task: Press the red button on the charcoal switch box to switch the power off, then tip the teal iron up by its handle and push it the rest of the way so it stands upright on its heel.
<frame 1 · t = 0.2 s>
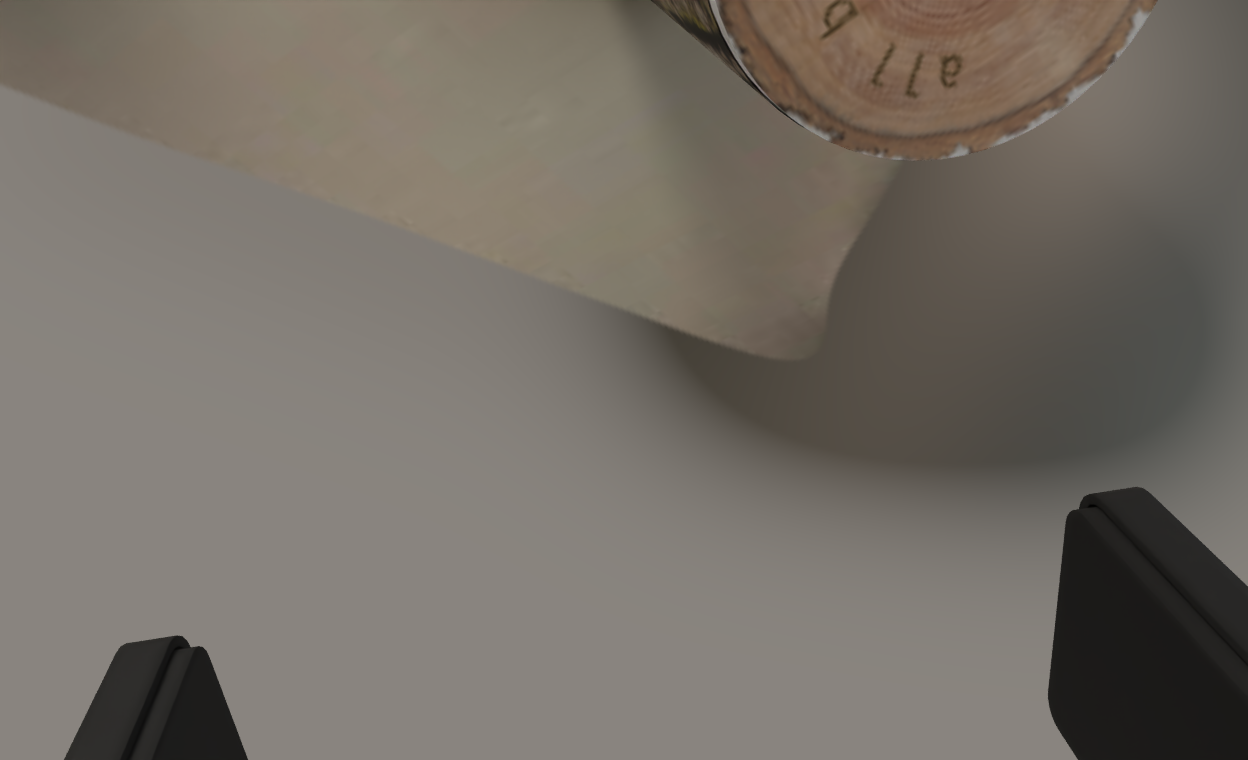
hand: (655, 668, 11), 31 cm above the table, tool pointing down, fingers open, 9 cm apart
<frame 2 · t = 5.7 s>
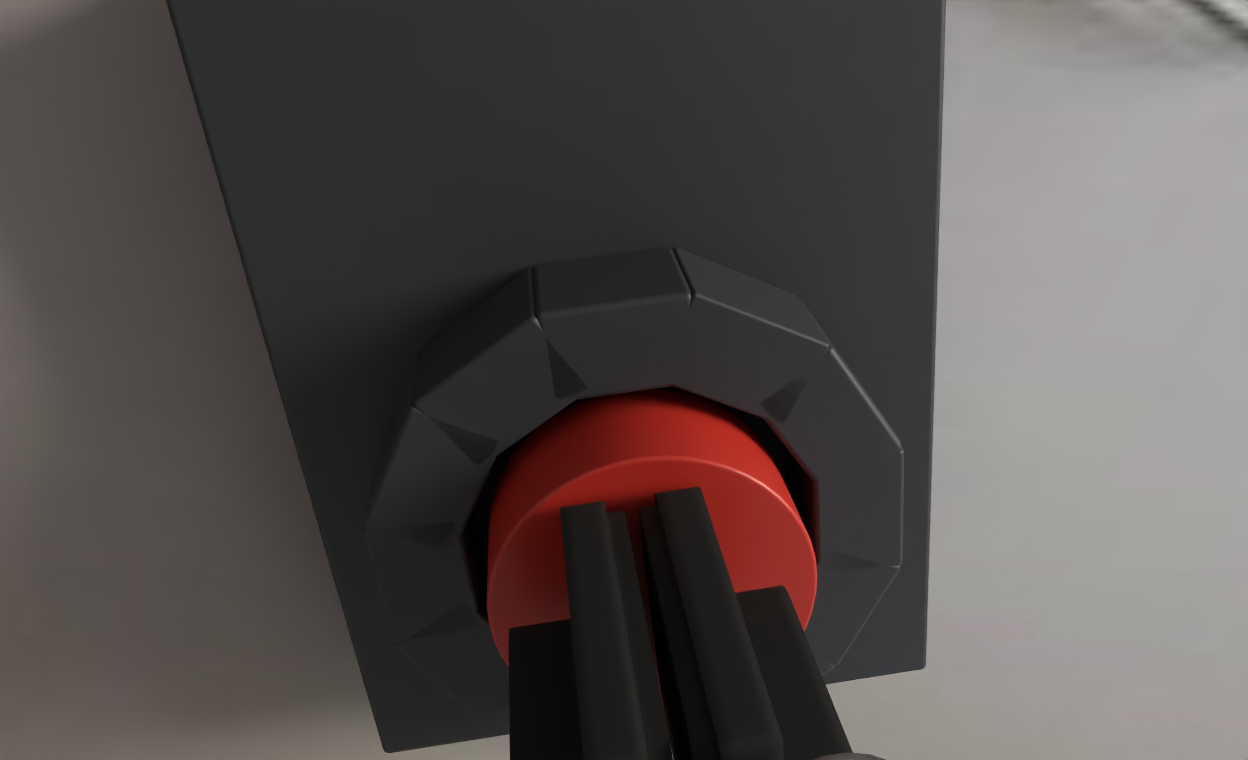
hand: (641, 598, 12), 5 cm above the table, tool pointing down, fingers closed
power button: (645, 558, 13), point 4 cm above the table, slide at -0.2 cm, touching gripper
switch box: (604, 323, 16), on the table
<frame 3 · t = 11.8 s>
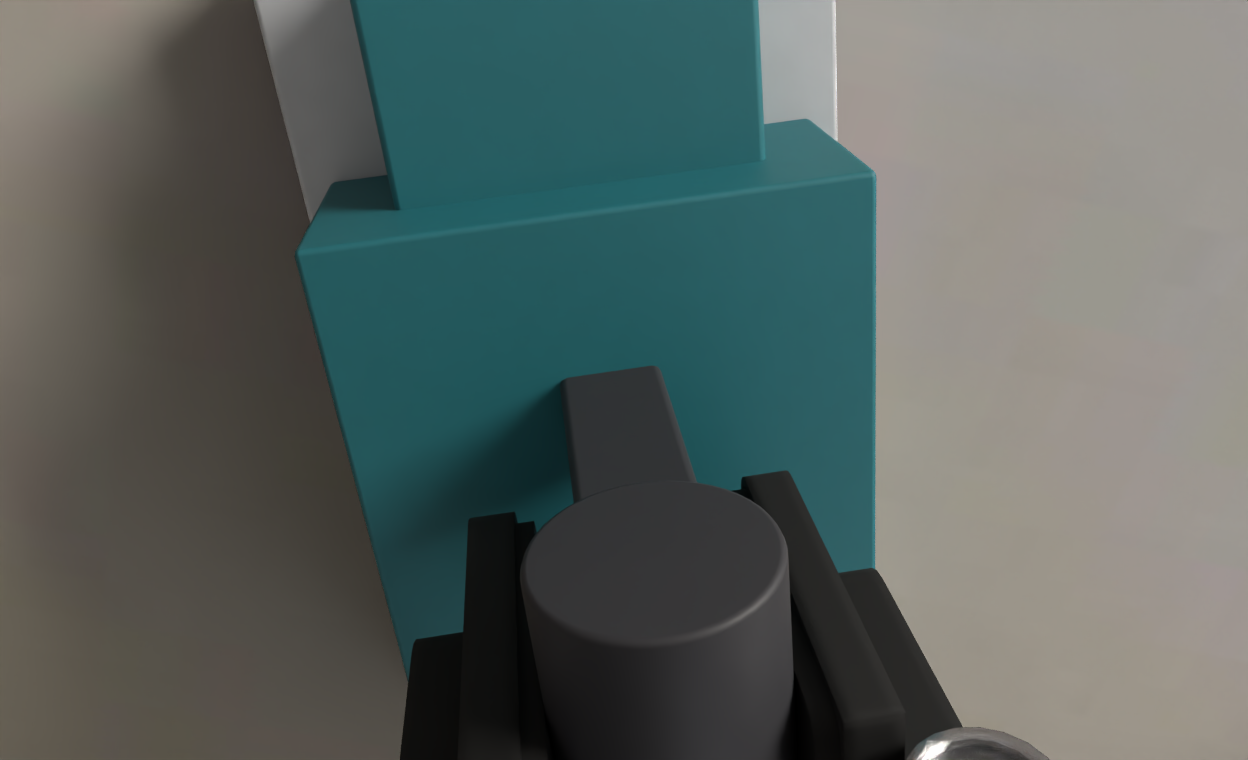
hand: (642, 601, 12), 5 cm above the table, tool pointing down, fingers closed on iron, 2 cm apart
iron: (631, 526, 12), point 5 cm above the table, hinge at 0.0°, touching gripper
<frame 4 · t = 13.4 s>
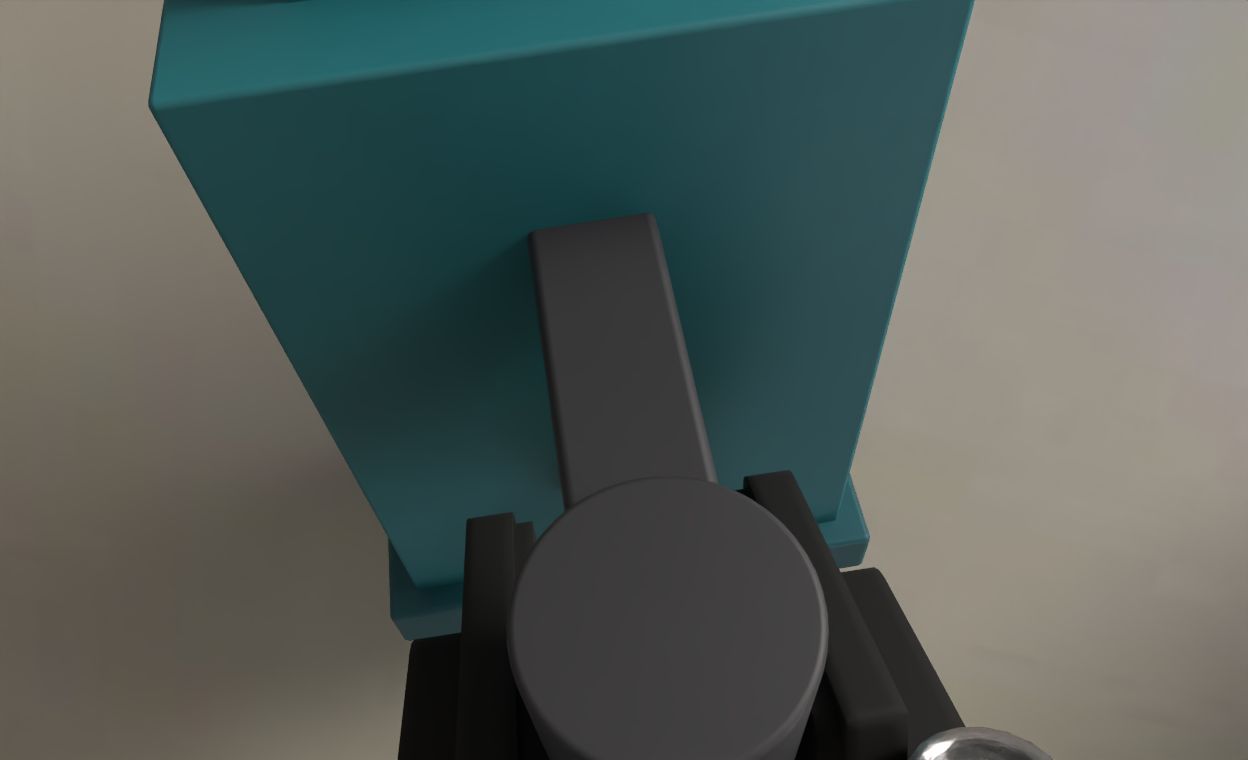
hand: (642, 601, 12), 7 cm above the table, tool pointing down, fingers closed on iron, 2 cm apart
iron: (613, 386, 10), point 7 cm above the table, hinge at 29.1°, touching gripper
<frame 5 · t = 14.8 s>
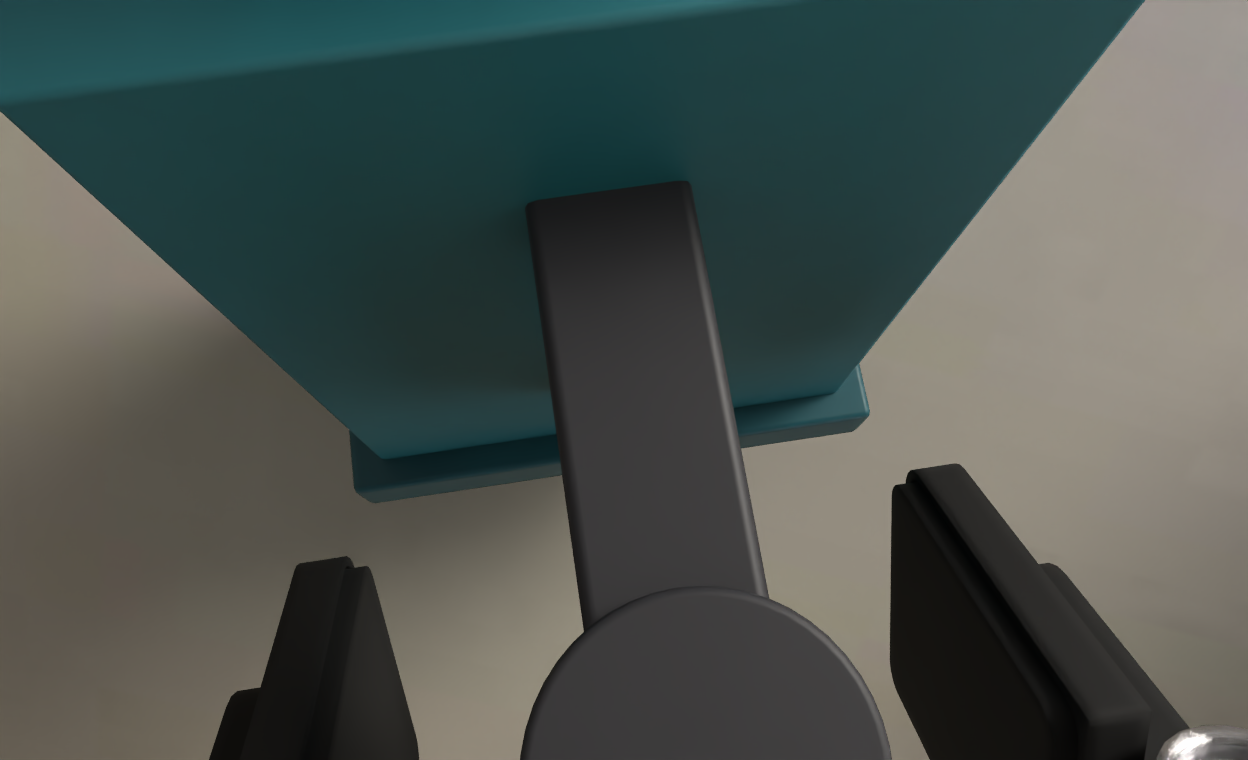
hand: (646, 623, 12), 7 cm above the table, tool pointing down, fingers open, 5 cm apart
iron: (621, 351, 9), point 8 cm above the table, hinge at 47.6°
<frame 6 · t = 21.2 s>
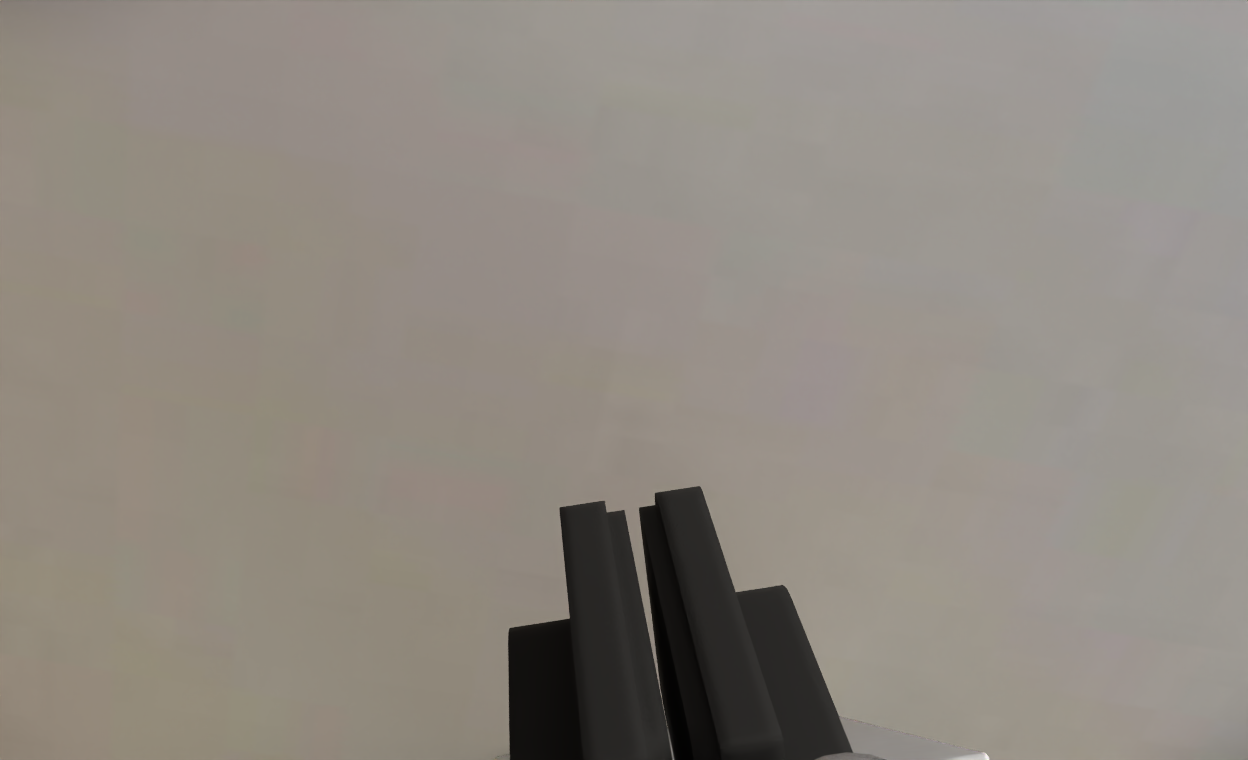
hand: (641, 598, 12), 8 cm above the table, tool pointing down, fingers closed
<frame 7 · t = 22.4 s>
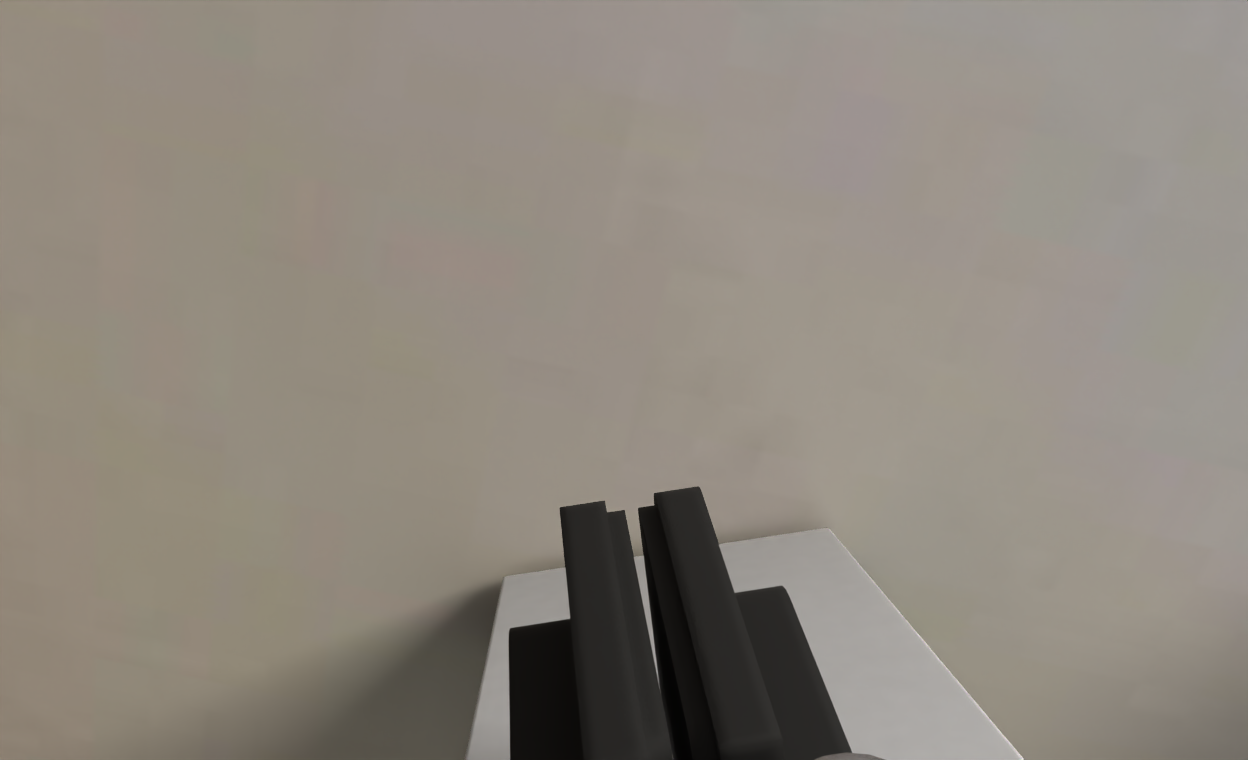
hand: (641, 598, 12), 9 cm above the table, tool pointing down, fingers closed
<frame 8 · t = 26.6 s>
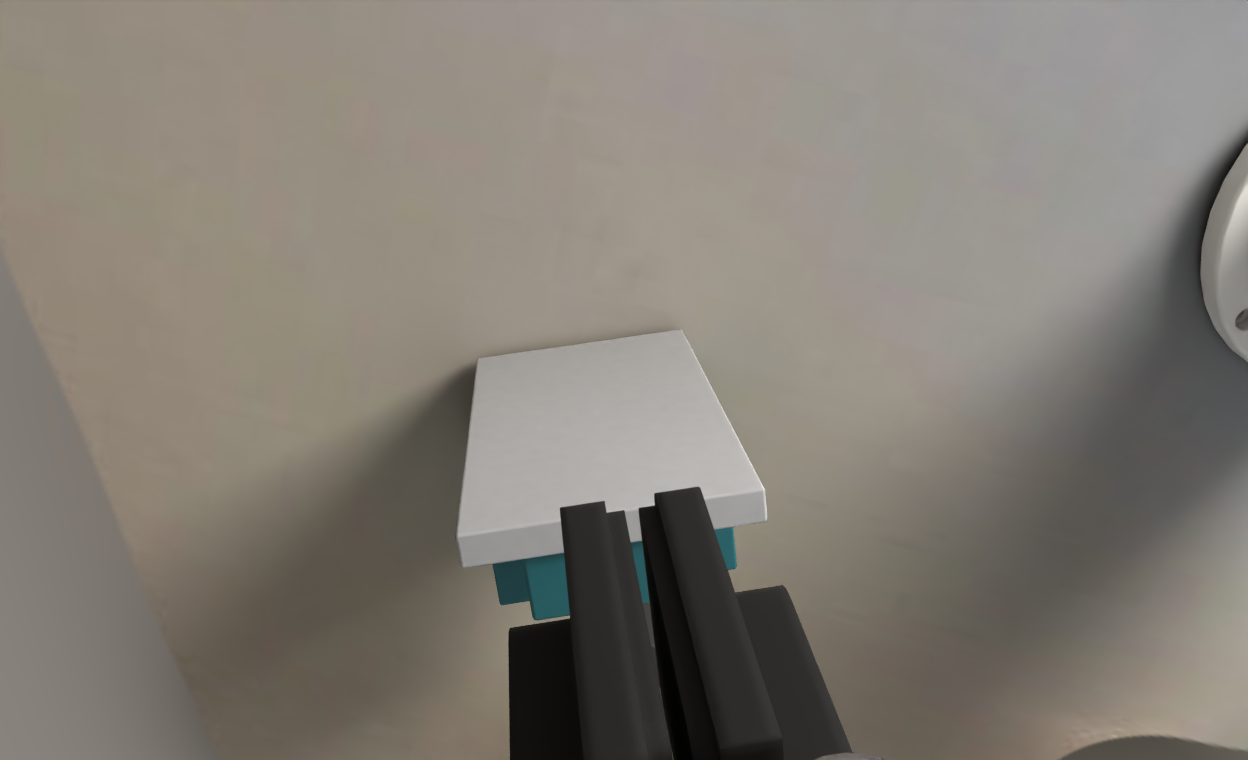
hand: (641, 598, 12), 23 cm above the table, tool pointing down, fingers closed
iron: (610, 542, 31), point 7 cm above the table, hinge at 83.1°
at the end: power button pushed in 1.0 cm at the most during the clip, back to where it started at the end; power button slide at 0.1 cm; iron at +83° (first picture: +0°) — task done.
